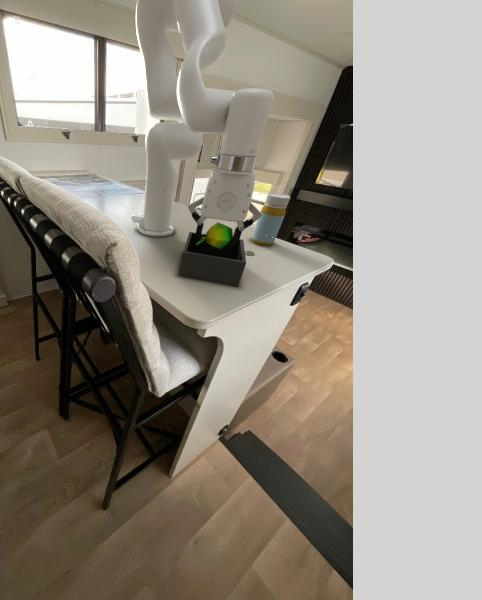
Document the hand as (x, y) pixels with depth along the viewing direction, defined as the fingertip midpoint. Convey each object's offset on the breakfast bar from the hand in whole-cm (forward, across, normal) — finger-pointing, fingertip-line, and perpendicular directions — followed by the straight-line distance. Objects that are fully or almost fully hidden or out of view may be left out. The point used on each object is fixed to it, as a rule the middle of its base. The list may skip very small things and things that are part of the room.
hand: (215, 241), depth 64 cm
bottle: (+8, +16, +26) cm, 32 cm away
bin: (+8, 0, 0) cm, 8 cm away
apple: (+2, 0, 0) cm, 2 cm away
